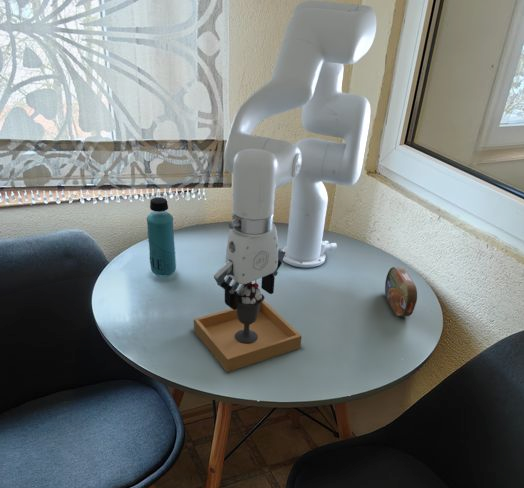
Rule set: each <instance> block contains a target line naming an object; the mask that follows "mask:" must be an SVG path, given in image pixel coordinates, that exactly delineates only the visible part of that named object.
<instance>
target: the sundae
mask: <svg viewBox="0 0 524 488" xmlns="http://www.w3.org/2000/svg"><path fill="white" fill-rule="evenodd" d="M236 292H237V294H238V297H237V316H238V320H239V321H240V322H241V323H242V324H244V330H240V331H238V332H237V333H236V334H235V338H236V340H237V341H239V342H241V343H253V342H255V341H256V340H257V338H258V335H257V334H256V333H255V332H254V331H251V330H250V329H249V326H250V324H252V323H254V322H255V321H256V319H257V316H258V312H259V307H260V304H261V303H262V302H263V300H264V301H265V299H266V298H265V295H264V294H263V293H262V290H261V289H259V284H258V283H257V280H255V281H254V282H253V281H252V282H249V283H247V284H241V285H240V287H239V288H238V289H236Z"/></svg>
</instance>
